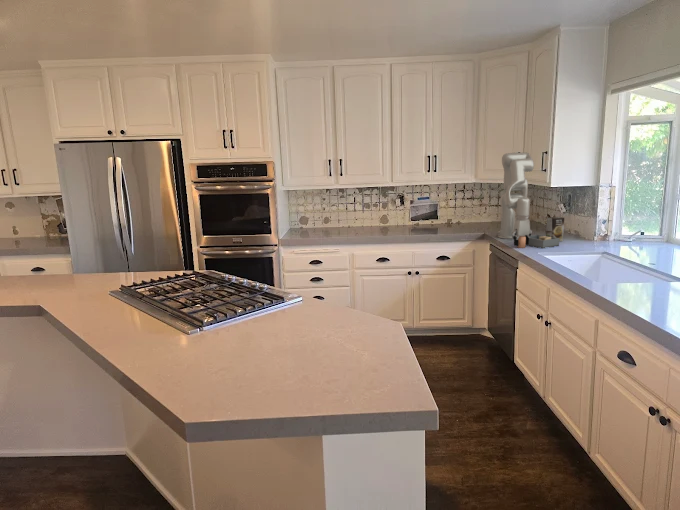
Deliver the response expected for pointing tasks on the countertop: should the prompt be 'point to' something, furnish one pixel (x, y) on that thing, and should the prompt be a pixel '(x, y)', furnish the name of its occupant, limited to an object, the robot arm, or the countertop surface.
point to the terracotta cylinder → (521, 242)
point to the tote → (543, 241)
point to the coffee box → (555, 227)
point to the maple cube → (544, 238)
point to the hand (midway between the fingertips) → (521, 244)
